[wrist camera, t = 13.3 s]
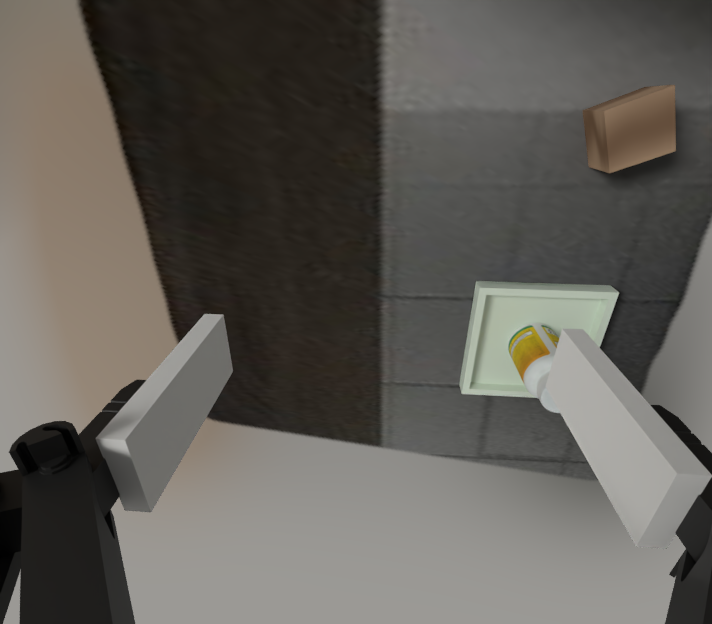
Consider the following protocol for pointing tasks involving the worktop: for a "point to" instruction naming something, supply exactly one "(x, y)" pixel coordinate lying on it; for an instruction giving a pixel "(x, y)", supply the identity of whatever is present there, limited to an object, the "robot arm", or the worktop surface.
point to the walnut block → (631, 128)
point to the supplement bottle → (535, 359)
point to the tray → (520, 307)
